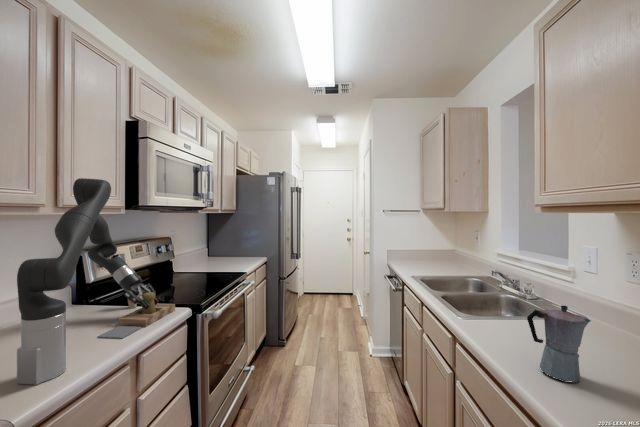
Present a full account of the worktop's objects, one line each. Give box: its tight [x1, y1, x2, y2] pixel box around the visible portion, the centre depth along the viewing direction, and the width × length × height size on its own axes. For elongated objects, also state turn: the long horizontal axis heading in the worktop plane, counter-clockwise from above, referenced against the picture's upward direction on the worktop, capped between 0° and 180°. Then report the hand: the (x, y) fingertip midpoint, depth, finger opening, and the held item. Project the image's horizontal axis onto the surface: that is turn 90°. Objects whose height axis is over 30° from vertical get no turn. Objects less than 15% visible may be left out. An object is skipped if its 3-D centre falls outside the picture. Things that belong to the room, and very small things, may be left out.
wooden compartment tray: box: [117, 303, 176, 328], centre depth 127 cm, size 20×12×3 cm, turn 175°
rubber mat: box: [96, 325, 143, 340], centre depth 111 cm, size 10×10×1 cm
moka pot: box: [526, 305, 592, 382], centre depth 82 cm, size 10×15×20 cm, turn 81°
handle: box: [127, 275, 141, 309], centre depth 140 cm, size 5×6×15 cm
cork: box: [141, 291, 156, 314], centre depth 127 cm, size 6×6×11 cm
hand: (152, 305), depth 127 cm, fingers open, 5 cm apart
